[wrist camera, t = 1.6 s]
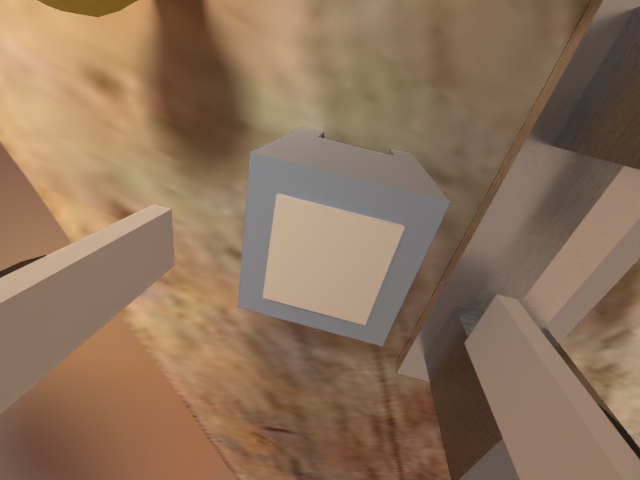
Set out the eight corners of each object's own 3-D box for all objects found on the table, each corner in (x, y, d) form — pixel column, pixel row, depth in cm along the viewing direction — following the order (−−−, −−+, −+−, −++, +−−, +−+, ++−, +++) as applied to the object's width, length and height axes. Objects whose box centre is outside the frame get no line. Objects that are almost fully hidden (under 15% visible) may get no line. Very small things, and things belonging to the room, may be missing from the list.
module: (302, 126, 18) (247, 153, 9) (412, 153, 17) (452, 204, 9) (285, 228, 21) (235, 310, 13) (376, 252, 21) (382, 350, 13)
